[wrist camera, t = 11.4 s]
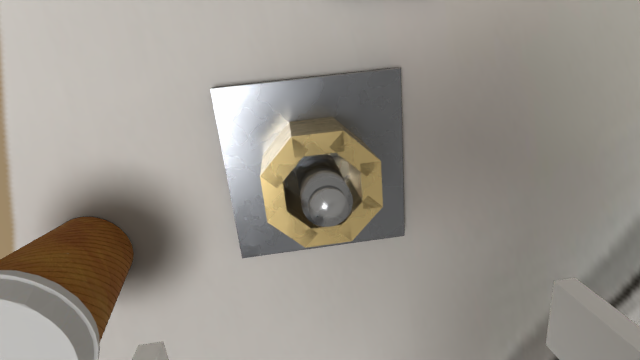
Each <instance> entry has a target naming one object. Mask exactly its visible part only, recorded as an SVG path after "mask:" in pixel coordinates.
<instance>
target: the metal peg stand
mask: <svg viewBox="0 0 640 360" xmlns="http://www.w3.org/2000/svg"><path fill="white" fill-rule="evenodd" d="M210 91H211V96H212V101H213V107H214V112H215V117H216V122H217V128H218V133H219V138H220V143H221V149H222V154H223V159H224V164H225V170H226V175H227V180H228V186H229V191H230V196H231V201H232V207H233V212H234V217H235V222H236V228H237V233H238V238H239V243H240V249H241V254H242V258H247V257H254V256H262V255H269V254H276V253H283V252H290V251H298V250H305V249H312V248H319V247H326V246H334V245H341V244H348V243H355V242H362V241H370V240H377V239H384V238H391V237H398V236H404V193H403V150H402V107H401V68H389V69H380V70H371V71H361V72H352V73H343V74H334V75H324V76H315V77H306V78H297V79H288V80H278V81H269V82H260V83H251V84H241V85H232V86H223V87H214V88H211V89H210ZM326 117H333V118H335V119H336V120H337V121H338V122H340V123H341V124H342V125H343V126H344V127H346V128H347V129H348V130H349V131H351V132H352V133H353V134H354V135H355V136H357V137H358V138H359V139H360V140H362V141H363V142H364V143H365V144H366V145H367V146H368V147H369V148H370V149H371V151H372V152H373V153H374V154H375V155H376V156H377V157H378V158H379V159H380V161H381V174H382V197H383V207H382V208H381V209H380V211H379V212H378V213H377V214H376V215H375V216H374V217H373V218H372V219H371V221H370V222H369V223H368V224H367V225H366V226H365V227H364V228H363V229H362V231H361V232H360V233H359V234H358V235H357V236H356V237H355V238H354V239H353V241H350V242H343V243H336V244H329V245H321V246H314V247H307V248H305V247H304V246H302V245H301V244H299V243H298V242H296V241H295V240H293V239H292V238H290V237H289V236H287V235H286V234H284V233H283V232H281V231H280V230H278V229H277V228H275V227H274V226H272V225H271V224H269V223H268V222H267V217H266V211H265V205H264V198H263V192H262V186H261V180H260V172H261V164H262V156H263V154H264V153H265V152H266V150H267V149H268V148H269V147H270V145H271V144H272V143H273V142H274V140H275V139H276V138H277V137H278V135H279V134H280V133H281V132H282V130H283V129H284V128H285V126H286V125H287V124H288V123H289V122H292V121H301V120H309V119H318V118H326ZM348 179H349V165H348V162H347V161H346V160H345V159H344V158H342V157H341V156H340V155H338V154H337V153H330V154H322V155H314V156H306V157H303V158H302V159H301V160H300V161H299V163H298V164H297V165H296V166H295V167H294V169H293V170H292V171H291V172H290V174H289V175H288V176H287V177H286V178H285V180H284V181H285V186H286V187H287V188H289V189H290V190H291V191H293V192H294V193H296V194H297V195H298V196H300V198H301V204H302V210H303V213H304V215H305V216H306V218H307V219H308V220H309V221H310V222H312V223H313V224H315V225H318V226H322V227H331V226H335V225H338V224H339V223H341V222H342V221H344V220H345V219H346V218H347V217H348V215H349V214H350V212H351V210H352V206H353V197H352V194H351V192H350V190H349V188H348V186H347V184H346V181H347V180H348Z"/></svg>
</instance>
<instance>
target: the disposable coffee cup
mask: <svg viewBox="0 0 640 360" xmlns="http://www.w3.org/2000/svg"><path fill="white" fill-rule="evenodd" d="M132 261H133V247H132V244H131V242H130V240H129V238H128V237H127V235H126V234H125V233H124V232H123V231H122V230H121V229H120V228H119V227H117V226H116V225H115V224H113V223H111V222H109V221H106V220H104V219H100V218H96V217H79V218H75V219H72V220H70V221H67V222H66V223H64V224H63V225H61V226H59V227H57V228H56V229H54V230H52V231H50V232H48V233H47V234H45V235H43V236H41V237H39V238H38V239H36V240H34V241H32V242H31V243H29V244H27V245H25V246H24V247H22V248H20V249H18V250H16V251H15V252H13V253H11V254H9V255H8V256H6V257H4V258H2V259H0V360H98V359H99V351H100V346H99V343H100V339H101V338H102V335H103V332H104V331H105V327H106V325H107V323H108V320H109V319H110V315H111V313H112V311H113V308H114V306H115V303H116V301H117V298H118V296H119V294H120V291H121V288H122V286H123V284H124V281H125V279H126V276H127V274H128V271H129V269H130V267H131V264H132Z"/></svg>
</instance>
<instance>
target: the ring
mask: <svg viewBox="0 0 640 360" xmlns="http://www.w3.org/2000/svg"><path fill="white" fill-rule="evenodd" d="M330 153H337V154H338V155H340V156H341V157H342V158H344V159H345V160H346V161H347V162H348V165H349V179H348V180H347V181H346V184H347V186H348V188H349V190H350V192H351V194H352V197H353V206H352V210H351V212H350V214H349V215H348V217H347V218H346V219H345V220H344V221H342V222H341V223H339V224H338V225H335V226H331V227H322V226H318V225H315V224H313V223H312V222H310V221H309V220H308V219H307V218H306V216H305V215H304V213H303V210H302V204H301V198H300V196H298V195H297V194H296V193H294V192H293V191H291V190H290V189H289V188H287V187H286V186H285V181H284V180H285V178H286V177H287V176H288V175H289V174H290V172H291V171H292V170H293V169H294V167H295V166H296V165H297V164H298V163H299V161H300V160H301V159H302V158H303V157H306V156H314V155H322V154H330ZM260 180H261V186H262V192H263V198H264V205H265V211H266V217H267V222H268V223H269V224H271V225H272V226H274V227H275V228H277V229H278V230H280V231H281V232H283V233H284V234H286V235H287V236H289V237H290V238H292V239H293V240H295V241H296V242H298V243H299V244H301V245H302V246H304V247H305V248H307V247H314V246H321V245H329V244H336V243H343V242H350V241H353V239H354V238H355V237H356V236H357V235H358V234H359V233H360V232H361V231H362V229H363V228H364V227H365V226H366V225H367V224H368V223H369V222H370V221H371V219H372V218H373V217H374V216H375V215H376V214H377V213H378V212H379V211H380V209H381V208H382V207H383V197H382V174H381V161H380V159H379V158H378V157H377V156H376V155H375V154H374V153H373V152H372V151H371V149H370V148H369V147H368V146H367V145H366V144H365V143H364V142H363V141H362V140H360V139H359V138H358V137H357V136H355V135H354V134H353V133H352V132H351V131H349V130H348V129H347V128H346V127H344V126H343V125H342V124H341V123H340V122H338V121H337V120H336V119H335V118H333V117H326V118H318V119H309V120H301V121H292V122H289V123H288V124H287V125H286V126H285V128H284V129H283V130H282V132H281V133H280V134H279V135H278V137H277V138H276V139H275V140H274V142H273V143H272V144H271V145H270V147H269V148H268V149H267V150H266V152H265V153H264V154H263V156H262V164H261V172H260Z"/></svg>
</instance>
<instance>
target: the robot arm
mask: <svg viewBox="0 0 640 360" xmlns="http://www.w3.org/2000/svg"><path fill="white" fill-rule="evenodd" d="M546 346H547V347H548V348H549V349H550V350H551V351H552V352H553V353H554V354H555V355H556V356H557V358H558V359H559V360H640V327H639V326H638V325H637V324H635V323H634V322H633V321H631V320H630V319H629V318H627V317H626V316H625V315H623V314H622V313H621V312H619V311H618V310H617V309H616V308H614V307H613V306H612V305H610V304H609V303H608V302H606V301H605V300H604V299H602V298H601V297H600V296H598V295H597V294H596V293H595V292H593V291H592V290H591V289H589V288H588V287H587V286H585V285H584V284H583V283H581V282H580V281H579V280H577V279H576V278H568V279H562V280H555V281H554V283H553V291H552V299H551V307H550V315H549V323H548V331H547V339H546ZM132 360H169V359H168V356H167V352H166V349H165V345H164V342H156V343H150V344H143V345H139V346H138V348H137V350H136V352H135V354H134V356H133V359H132Z"/></svg>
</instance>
